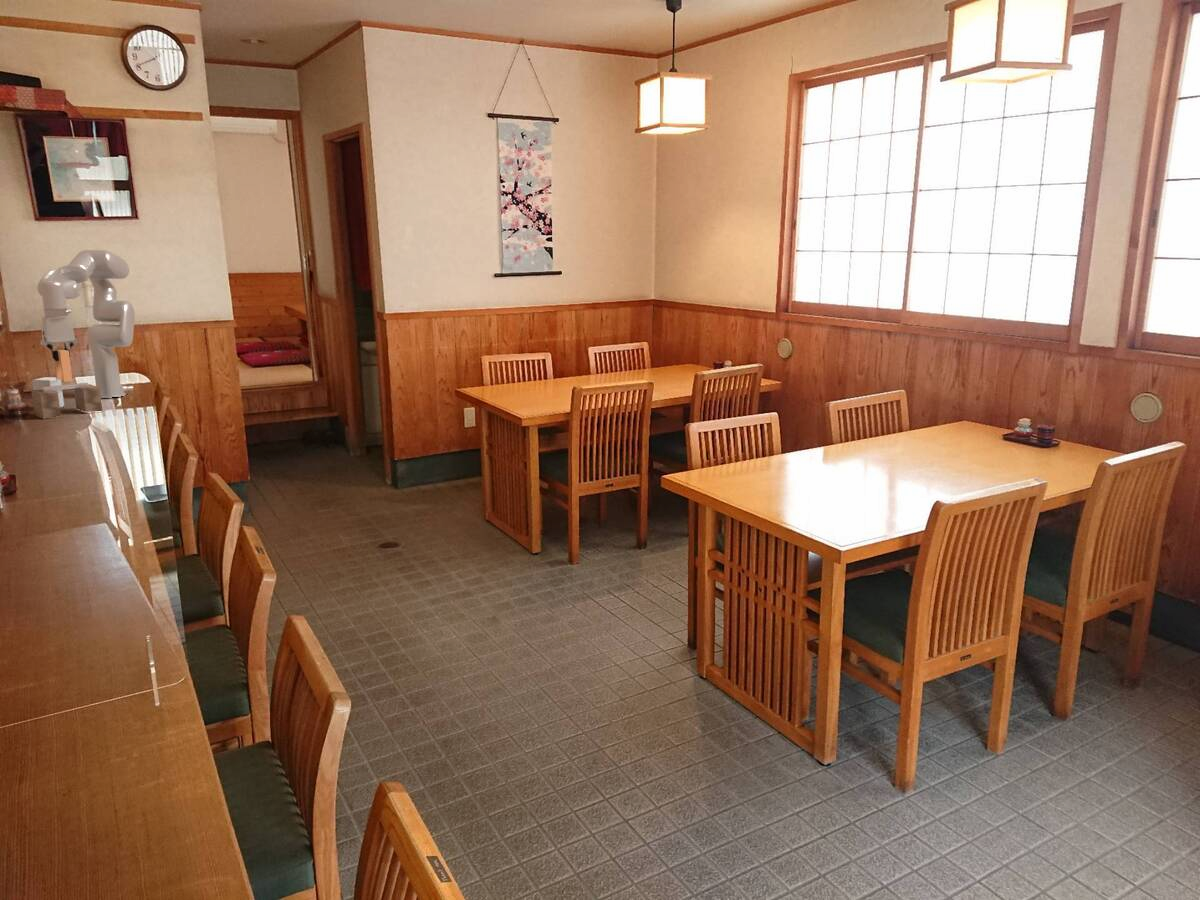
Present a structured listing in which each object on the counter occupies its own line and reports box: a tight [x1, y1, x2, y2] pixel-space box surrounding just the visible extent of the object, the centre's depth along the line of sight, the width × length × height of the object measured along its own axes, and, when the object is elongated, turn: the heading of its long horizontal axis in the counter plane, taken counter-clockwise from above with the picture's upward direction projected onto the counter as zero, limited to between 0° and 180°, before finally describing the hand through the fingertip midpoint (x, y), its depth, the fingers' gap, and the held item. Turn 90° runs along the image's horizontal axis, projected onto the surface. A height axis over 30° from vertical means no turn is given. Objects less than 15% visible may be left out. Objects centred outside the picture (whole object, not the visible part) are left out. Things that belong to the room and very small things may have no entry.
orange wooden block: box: [53, 348, 73, 383], centre depth 329 cm, size 3×8×12 cm, turn 50°
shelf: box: [30, 383, 103, 420], centre depth 333 cm, size 21×10×10 cm, turn 140°
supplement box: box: [32, 376, 65, 407], centre depth 340 cm, size 7×7×13 cm
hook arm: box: [42, 382, 90, 392], centre depth 332 cm, size 16×2×2 cm, turn 140°
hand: (61, 359), depth 329 cm, fingers closed on orange wooden block, 3 cm apart
